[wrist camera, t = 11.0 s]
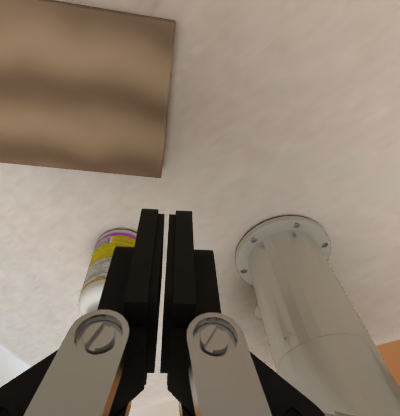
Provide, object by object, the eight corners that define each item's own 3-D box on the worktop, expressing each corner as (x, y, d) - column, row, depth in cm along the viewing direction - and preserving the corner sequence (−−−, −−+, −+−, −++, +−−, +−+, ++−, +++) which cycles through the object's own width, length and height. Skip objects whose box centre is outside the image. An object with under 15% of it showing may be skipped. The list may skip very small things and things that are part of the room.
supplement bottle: (145, 268, 43) (136, 358, 33) (95, 263, 42) (68, 354, 32) (152, 230, 40) (144, 317, 29) (97, 223, 39) (68, 311, 28)
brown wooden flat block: (161, 166, 35) (161, 177, 33) (5, 151, 33) (-6, 161, 31) (175, 20, 27) (175, 23, 25) (-28, -13, 25) (-46, -14, 23)
